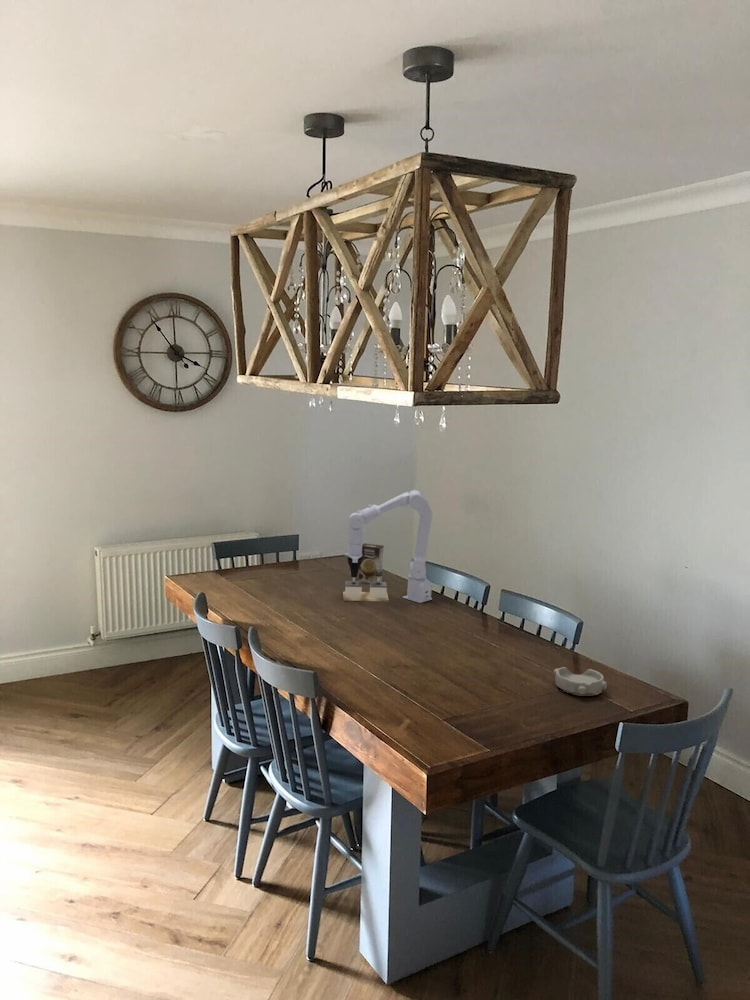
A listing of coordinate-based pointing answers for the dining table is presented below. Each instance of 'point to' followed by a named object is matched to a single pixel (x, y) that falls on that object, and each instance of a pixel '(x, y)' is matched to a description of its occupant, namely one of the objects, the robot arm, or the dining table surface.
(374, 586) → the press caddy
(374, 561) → the coffee box
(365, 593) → the serving board
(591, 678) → the dish
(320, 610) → the dining table surface
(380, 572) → the plunger
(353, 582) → the plunger
